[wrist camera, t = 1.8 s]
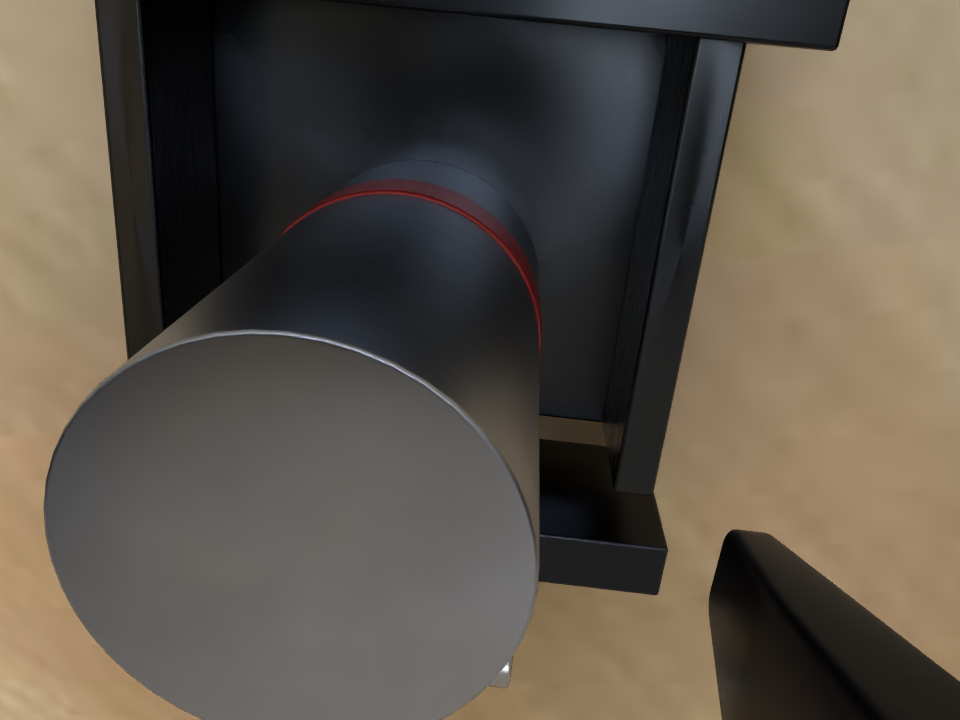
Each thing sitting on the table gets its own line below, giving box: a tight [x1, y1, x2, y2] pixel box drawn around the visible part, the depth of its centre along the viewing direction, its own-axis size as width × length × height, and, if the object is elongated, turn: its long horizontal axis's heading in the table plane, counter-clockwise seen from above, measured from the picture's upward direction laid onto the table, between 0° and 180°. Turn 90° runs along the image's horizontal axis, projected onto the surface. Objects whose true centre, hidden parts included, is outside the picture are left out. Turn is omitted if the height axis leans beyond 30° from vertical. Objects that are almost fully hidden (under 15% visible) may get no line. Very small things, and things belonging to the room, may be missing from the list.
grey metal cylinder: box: [44, 160, 542, 720], centre depth 13 cm, size 5×5×10 cm
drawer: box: [95, 0, 747, 688], centre depth 17 cm, size 16×12×4 cm
